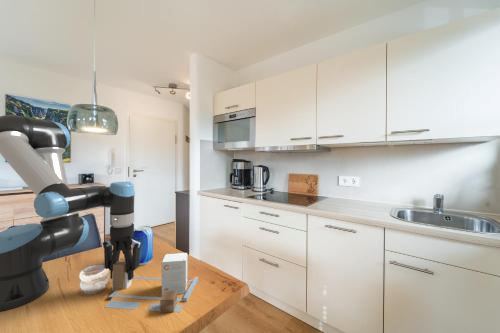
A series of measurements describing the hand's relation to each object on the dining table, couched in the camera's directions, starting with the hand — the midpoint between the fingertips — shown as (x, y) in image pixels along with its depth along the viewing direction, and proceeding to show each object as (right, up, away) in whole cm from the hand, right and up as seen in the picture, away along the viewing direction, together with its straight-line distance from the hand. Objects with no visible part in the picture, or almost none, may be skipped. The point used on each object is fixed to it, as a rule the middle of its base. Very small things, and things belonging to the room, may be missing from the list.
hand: (122, 287), depth 76 cm
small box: (+20, -1, -1) cm, 20 cm away
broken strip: (+13, -1, -10) cm, 17 cm away
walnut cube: (+21, 0, -11) cm, 24 cm away
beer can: (-3, 0, +20) cm, 20 cm away
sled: (+13, -1, -1) cm, 13 cm away
